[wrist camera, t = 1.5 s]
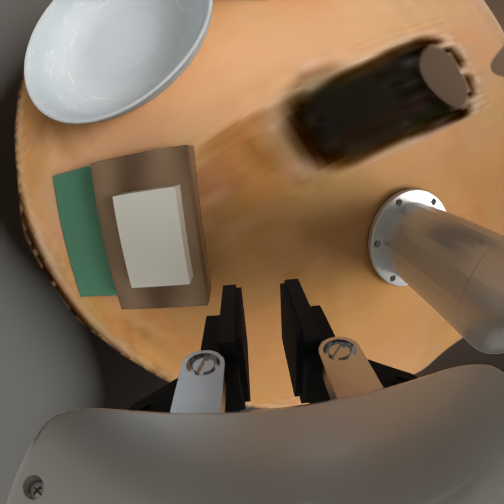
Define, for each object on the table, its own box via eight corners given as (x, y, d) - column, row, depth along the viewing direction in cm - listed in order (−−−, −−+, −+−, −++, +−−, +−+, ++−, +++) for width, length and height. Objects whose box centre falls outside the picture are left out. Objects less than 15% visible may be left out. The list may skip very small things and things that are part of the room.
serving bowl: (217, -33, 19) (214, -65, 13) (219, 114, 26) (213, 102, 20) (65, 6, 19) (40, -11, 12) (53, 144, 26) (17, 146, 19)
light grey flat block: (179, 184, 24) (174, 186, 23) (193, 275, 28) (190, 284, 26) (120, 193, 24) (112, 196, 23) (138, 279, 27) (131, 288, 26)
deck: (193, 146, 27) (186, 144, 23) (211, 287, 32) (208, 305, 29) (107, 161, 27) (90, 163, 23) (132, 292, 32) (121, 309, 29)
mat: (106, 162, 27) (104, 162, 27) (131, 293, 32) (130, 294, 32) (54, 175, 27) (53, 176, 26) (82, 295, 32) (80, 296, 32)
